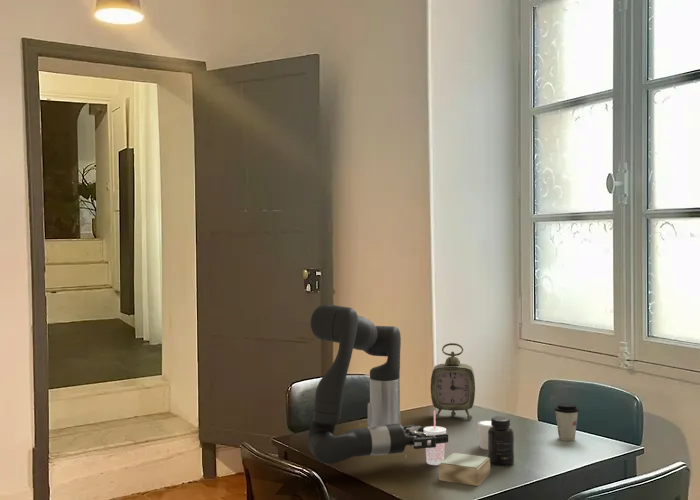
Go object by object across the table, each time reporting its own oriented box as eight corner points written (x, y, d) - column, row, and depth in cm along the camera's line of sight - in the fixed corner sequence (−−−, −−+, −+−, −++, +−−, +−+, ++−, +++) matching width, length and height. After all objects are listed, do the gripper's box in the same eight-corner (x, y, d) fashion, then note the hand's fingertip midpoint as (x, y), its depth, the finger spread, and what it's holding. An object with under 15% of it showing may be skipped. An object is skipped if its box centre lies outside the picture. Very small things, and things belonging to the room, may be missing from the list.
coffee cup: (553, 440, 214) (552, 406, 214) (556, 434, 220) (555, 401, 220) (578, 442, 211) (577, 408, 211) (580, 436, 217) (579, 403, 217)
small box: (439, 480, 180) (438, 462, 180) (452, 468, 189) (452, 452, 189) (477, 485, 176) (477, 468, 176) (490, 473, 184) (489, 457, 184)
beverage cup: (419, 463, 194) (418, 411, 194) (430, 457, 199) (429, 406, 199) (440, 467, 190) (439, 414, 190) (450, 461, 195) (450, 409, 195)
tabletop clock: (430, 420, 239) (430, 344, 239) (432, 413, 248) (431, 340, 248) (475, 421, 237) (474, 345, 237) (475, 415, 246) (474, 341, 245)
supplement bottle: (485, 459, 196) (484, 415, 196) (509, 458, 197) (509, 414, 197) (492, 467, 190) (491, 421, 189) (517, 466, 190) (517, 420, 190)
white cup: (502, 451, 204) (501, 426, 204) (477, 450, 205) (477, 425, 205) (502, 444, 211) (501, 420, 211) (478, 443, 212) (477, 419, 212)
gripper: (393, 432, 183) (452, 426, 188) (375, 419, 197) (430, 413, 202) (394, 461, 183) (452, 455, 188) (375, 446, 197) (430, 440, 202)
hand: (441, 433), depth 195 cm, fingers open, 8 cm apart
